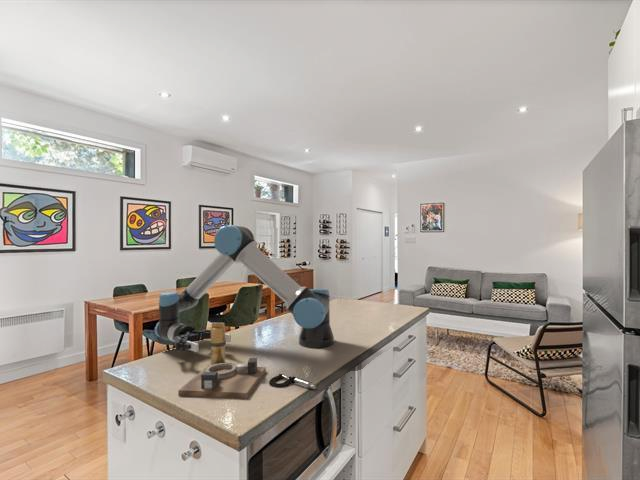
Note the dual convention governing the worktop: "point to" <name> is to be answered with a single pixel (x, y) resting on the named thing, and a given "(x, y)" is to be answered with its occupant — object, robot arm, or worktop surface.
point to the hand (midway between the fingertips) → (214, 343)
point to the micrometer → (291, 380)
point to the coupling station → (225, 380)
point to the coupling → (217, 343)
